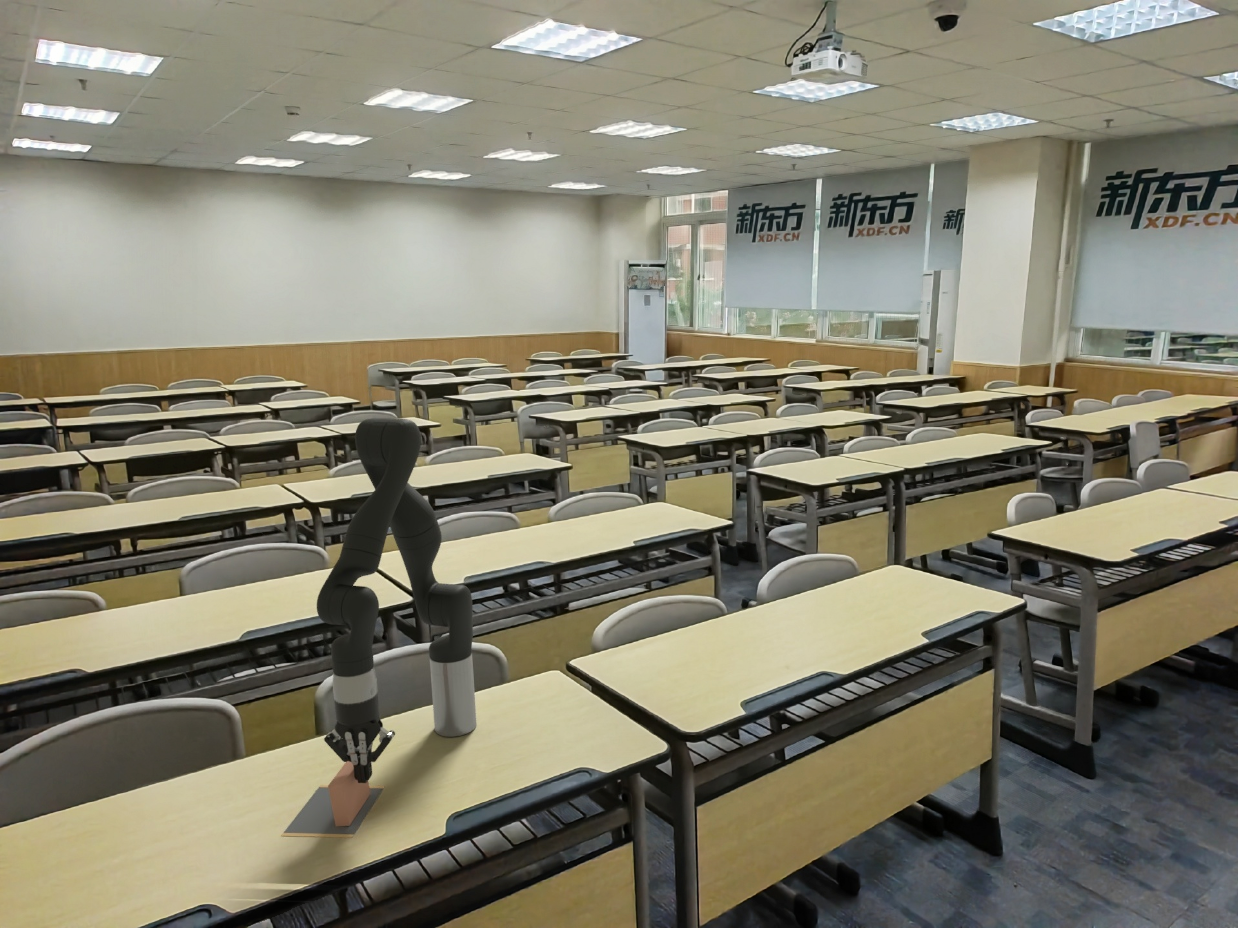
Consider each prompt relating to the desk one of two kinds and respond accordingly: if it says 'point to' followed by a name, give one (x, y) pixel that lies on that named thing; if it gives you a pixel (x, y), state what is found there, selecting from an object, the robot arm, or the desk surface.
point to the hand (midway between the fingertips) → (363, 780)
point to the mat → (327, 816)
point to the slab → (347, 795)
